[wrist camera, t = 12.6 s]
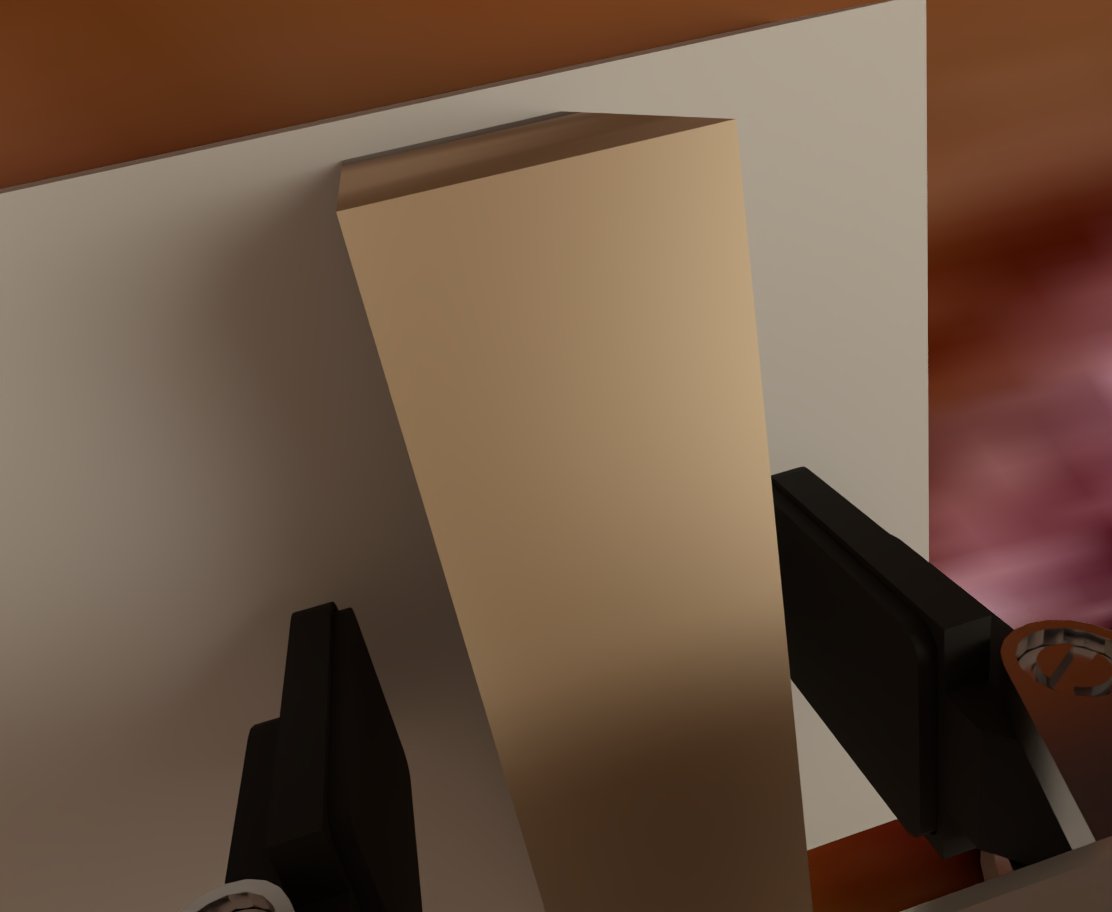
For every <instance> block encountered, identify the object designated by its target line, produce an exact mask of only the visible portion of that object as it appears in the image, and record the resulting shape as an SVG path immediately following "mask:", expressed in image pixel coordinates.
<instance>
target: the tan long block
mask: <svg viewBox="0 0 1112 912" xmlns="http://www.w3.org/2000/svg"><path fill="white" fill-rule="evenodd" d="M336 213H337V217H338V220H339V223H340V227H341V230H342V233H343V237H344V240H345V243H346V247H347V250H348V253H349V257H350V260H351V263H352V267H353V270H354V273H355V277H356V280H357V283H358V287H359V290H360V293H361V297H362V300H363V303H364V307H365V310H366V313H367V317H368V320H369V324H370V327H371V330H372V334H373V337H374V340H375V344H376V347H377V350H378V354H379V357H380V360H381V364H382V367H383V370H384V374H385V377H386V380H387V384H388V387H389V390H390V394H391V397H392V400H393V404H394V407H395V410H396V414H397V417H398V420H399V424H400V427H401V431H402V434H403V437H404V441H405V444H406V447H407V451H408V454H409V457H410V461H411V464H412V467H413V471H414V474H415V477H416V481H417V484H418V487H419V491H420V494H421V497H422V501H423V504H424V507H425V511H426V514H427V517H428V521H429V524H430V528H431V531H432V534H433V538H434V541H435V544H436V548H437V551H438V554H439V558H440V561H441V564H442V568H443V571H444V574H445V578H446V581H447V584H448V588H449V591H450V594H451V598H452V601H453V604H454V608H455V611H456V614H457V618H458V621H459V624H460V628H461V631H462V635H463V638H464V641H465V645H466V648H467V651H468V655H469V658H470V661H471V665H472V668H473V671H474V675H475V678H476V681H477V685H478V688H479V691H480V695H481V698H482V701H483V705H484V708H485V711H486V715H487V718H488V721H489V725H490V728H491V731H492V735H493V738H494V742H495V745H496V748H497V752H498V755H499V758H500V762H501V765H502V768H503V772H504V775H505V778H506V782H507V785H508V788H509V792H510V795H511V798H512V802H513V805H514V808H515V812H516V815H517V818H518V822H519V825H520V828H521V832H522V835H523V838H524V842H525V845H526V849H527V852H528V855H529V859H530V862H531V865H532V869H533V872H534V875H535V879H536V882H537V885H538V889H539V892H540V895H541V899H542V902H543V905H544V909H545V912H813V906H812V896H811V885H810V875H809V865H808V854H807V844H806V834H805V823H804V813H803V803H802V792H801V782H800V772H799V761H798V751H797V741H796V730H795V720H794V710H793V700H792V689H791V679H790V669H789V658H788V648H787V638H786V627H785V617H784V607H783V596H782V586H781V576H780V565H779V555H778V545H777V534H776V524H775V514H774V503H773V493H772V483H771V472H770V462H769V452H768V441H767V431H766V421H765V410H764V400H763V390H762V379H761V369H760V359H759V348H758V338H757V328H756V317H755V307H754V297H753V286H752V276H751V266H750V255H749V245H748V235H747V224H746V214H745V204H744V193H743V183H742V173H741V162H740V152H739V142H738V131H737V121H736V119H726V118H703V117H681V116H658V115H635V114H613V113H590V112H567V111H560V112H555V113H551V114H546V115H542V116H537V117H533V118H528V119H524V120H520V121H515V122H511V123H506V124H502V125H497V126H493V127H488V128H484V129H480V130H475V131H471V132H466V133H462V134H457V135H453V136H448V137H444V138H440V139H435V140H431V141H426V142H422V143H417V144H413V145H408V146H404V147H399V148H395V149H391V150H386V151H382V152H377V153H373V154H368V155H364V156H359V157H355V158H351V159H346V160H342V168H341V177H340V185H339V193H338V201H337V209H336Z"/></svg>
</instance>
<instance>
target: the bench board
mask: <svg viewBox="0 0 1112 912" xmlns="http://www.w3.org/2000/svg"><path fill="white" fill-rule="evenodd" d="M560 111H567V112H590V113H613V114H635V115H658V116H681V117H703V118H726V119H736V121H737V131H738V142H739V152H740V162H741V173H742V183H743V193H744V204H745V214H746V224H747V235H748V245H749V255H750V266H751V276H752V286H753V297H754V307H755V317H756V328H757V338H758V348H759V359H760V369H761V379H762V390H763V400H764V410H765V421H766V431H767V441H768V452H769V462H770V472H771V475H774V474H777V473H781V472H784V471H788V470H791V469H795V468H798V467H803V466H804V467H806V468H808V469H809V470H811V471H812V472H813V473H814V474H816V475H817V476H818V477H819V478H821V479H822V480H823V481H824V482H826V483H827V484H828V485H829V486H831V487H832V488H833V489H834V490H836V491H837V492H838V493H839V494H841V495H842V496H843V497H844V498H846V499H847V500H848V501H849V502H851V503H852V504H853V505H854V506H856V507H857V508H858V509H859V510H861V511H862V512H863V513H864V514H866V515H867V516H868V517H869V518H871V519H872V520H873V521H874V522H876V523H877V524H878V525H879V526H881V527H882V528H883V529H884V530H886V531H887V532H888V533H889V534H891V535H893V536H895V537H897V538H899V539H900V540H902V541H903V542H904V543H905V544H907V545H908V546H909V547H910V548H912V549H913V550H914V551H915V552H917V553H918V554H919V555H920V556H922V557H923V558H924V559H925V560H927V561H928V562H929V486H928V288H927V90H926V0H889V1H883V2H878V3H873V4H867V5H862V6H857V7H851V8H846V9H841V10H835V11H830V12H825V13H819V14H814V15H809V16H804V17H798V18H793V19H788V20H782V21H777V22H772V23H768V24H763V25H758V26H754V27H749V28H745V29H740V30H735V31H731V32H726V33H721V34H717V35H712V36H707V37H703V38H698V39H694V40H689V41H684V42H680V43H675V44H670V45H666V46H661V47H657V48H652V49H647V50H643V51H638V52H633V53H629V54H624V55H619V56H615V57H610V58H606V59H601V60H596V61H592V62H587V63H582V64H578V65H573V66H568V67H564V68H559V69H555V70H550V71H545V72H541V73H536V74H531V75H527V76H522V77H518V78H513V79H508V80H504V81H499V82H494V83H490V84H485V85H480V86H476V87H471V88H467V89H462V90H457V91H453V92H448V93H443V94H439V95H434V96H429V97H425V98H420V99H416V100H411V101H406V102H402V103H397V104H392V105H388V106H383V107H378V108H374V109H369V110H365V111H360V112H355V113H351V114H346V115H341V116H337V117H332V118H328V119H323V120H318V121H314V122H309V123H304V124H300V125H295V126H290V127H286V128H281V129H277V130H272V131H267V132H263V133H258V134H253V135H249V136H244V137H239V138H235V139H230V140H226V141H221V142H216V143H212V144H207V145H202V146H198V147H193V148H189V149H184V150H179V151H175V152H170V153H165V154H161V155H156V156H151V157H147V158H142V159H138V160H133V161H128V162H124V163H119V164H114V165H110V166H105V167H100V168H96V169H91V170H87V171H82V172H77V173H73V174H68V175H63V176H59V177H54V178H50V179H45V180H40V181H36V182H31V183H26V184H22V185H17V186H12V187H8V188H3V189H0V912H181V911H182V910H183V909H184V908H186V907H187V906H188V905H190V904H191V903H192V902H194V901H195V900H197V899H198V898H199V897H201V896H202V895H203V894H206V893H208V892H210V891H212V890H214V889H216V888H218V887H220V886H222V885H224V883H225V877H226V871H227V865H228V858H229V852H230V846H231V840H232V834H233V827H234V821H235V815H236V809H237V802H238V796H239V790H240V784H241V777H242V771H243V765H244V759H245V752H246V746H247V740H248V735H249V732H250V729H251V728H252V727H253V726H254V725H255V724H259V723H262V722H265V721H268V720H272V719H275V718H278V717H280V709H281V700H282V691H283V683H284V674H285V665H286V656H287V648H288V639H289V630H290V621H291V616H292V613H294V612H297V611H301V610H304V609H308V608H311V607H315V606H318V605H322V604H325V603H329V602H332V601H333V602H334V603H335V604H336V606H337V608H338V610H342V609H346V608H349V607H351V608H352V609H353V611H354V613H355V616H356V618H357V621H358V624H359V627H360V629H361V632H362V635H363V638H364V641H365V643H366V646H367V649H368V652H369V654H370V657H371V660H372V663H373V666H374V668H375V671H376V674H377V677H378V680H379V682H380V685H381V688H382V691H383V693H384V696H385V699H386V702H387V705H388V707H389V710H390V713H391V716H392V719H393V721H394V724H395V727H396V730H397V733H398V735H399V738H400V741H401V744H402V746H403V749H404V752H405V755H406V759H407V763H408V767H409V772H410V778H411V788H412V800H413V811H414V822H415V833H416V844H417V855H418V866H419V877H420V888H421V899H422V911H423V912H545V909H544V905H543V902H542V899H541V895H540V892H539V889H538V885H537V882H536V879H535V875H534V872H533V869H532V865H531V862H530V859H529V855H528V852H527V849H526V845H525V842H524V838H523V835H522V832H521V828H520V825H519V822H518V818H517V815H516V812H515V808H514V805H513V802H512V798H511V795H510V792H509V788H508V785H507V782H506V778H505V775H504V772H503V768H502V765H501V762H500V758H499V755H498V752H497V748H496V745H495V742H494V738H493V735H492V731H491V728H490V725H489V721H488V718H487V715H486V711H485V708H484V705H483V701H482V698H481V695H480V691H479V688H478V685H477V681H476V678H475V675H474V671H473V668H472V665H471V661H470V658H469V655H468V651H467V648H466V645H465V641H464V638H463V635H462V631H461V628H460V624H459V621H458V618H457V614H456V611H455V608H454V604H453V601H452V598H451V594H450V591H449V588H448V584H447V581H446V578H445V574H444V571H443V568H442V564H441V561H440V558H439V554H438V551H437V548H436V544H435V541H434V538H433V534H432V531H431V528H430V524H429V521H428V517H427V514H426V511H425V507H424V504H423V501H422V497H421V494H420V491H419V487H418V484H417V481H416V477H415V474H414V471H413V467H412V464H411V461H410V457H409V454H408V451H407V447H406V444H405V441H404V437H403V434H402V431H401V427H400V424H399V420H398V417H397V414H396V410H395V407H394V404H393V400H392V397H391V394H390V390H389V387H388V384H387V380H386V377H385V374H384V370H383V367H382V364H381V360H380V357H379V354H378V350H377V347H376V344H375V340H374V337H373V334H372V330H371V327H370V324H369V320H368V317H367V313H366V310H365V307H364V303H363V300H362V297H361V293H360V290H359V287H358V283H357V280H356V277H355V273H354V270H353V267H352V263H351V260H350V257H349V253H348V250H347V247H346V243H345V240H344V237H343V233H342V230H341V227H340V223H339V220H338V217H337V213H336V209H337V201H338V193H339V185H340V177H341V168H342V160H346V159H351V158H355V157H359V156H364V155H368V154H373V153H377V152H382V151H386V150H391V149H395V148H399V147H404V146H408V145H413V144H417V143H422V142H426V141H431V140H435V139H440V138H444V137H448V136H453V135H457V134H462V133H466V132H471V131H475V130H480V129H484V128H488V127H493V126H497V125H502V124H506V123H511V122H515V121H520V120H524V119H528V118H533V117H537V116H542V115H546V114H551V113H555V112H560ZM791 689H792V700H793V710H794V720H795V730H796V741H797V751H798V761H799V772H800V782H801V792H802V803H803V813H804V823H805V834H806V844H807V850H809V849H812V848H815V847H818V846H821V845H824V844H827V843H829V842H832V841H835V840H838V839H841V838H844V837H847V836H849V835H852V834H855V833H858V832H861V831H864V830H867V829H870V828H872V827H875V826H878V825H881V824H884V823H887V822H890V821H892V820H895V819H897V818H896V816H895V815H894V814H893V812H892V811H891V810H890V809H889V807H888V806H887V805H886V803H885V802H884V801H883V799H882V798H881V797H880V795H879V794H878V793H877V792H876V790H875V789H874V788H873V786H872V785H871V784H870V782H869V781H868V780H867V778H866V777H865V776H864V774H863V773H862V772H861V771H860V769H859V768H858V767H857V765H856V764H855V763H854V761H853V760H852V759H851V757H850V756H849V755H848V754H847V752H846V751H845V750H844V748H843V747H842V746H841V744H840V743H839V742H838V740H837V739H836V738H835V737H834V735H833V734H832V733H831V731H830V730H829V729H828V727H827V726H826V725H825V723H824V722H823V721H822V720H821V718H820V717H819V716H818V714H817V713H816V712H815V710H814V709H813V708H812V706H811V705H810V704H809V702H808V701H807V700H806V699H805V697H804V696H803V695H802V693H801V692H800V691H799V689H798V688H797V687H796V685H795V684H794V683H793V682H792V680H791Z"/></svg>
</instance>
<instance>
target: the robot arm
mask: <svg viewBox="0 0 1112 912" xmlns="http://www.w3.org/2000/svg"><path fill="white" fill-rule="evenodd" d="M771 483H772V493H773V503H774V514H775V524H776V534H777V545H778V555H779V565H780V576H781V586H782V596H783V607H784V617H785V627H786V638H787V648H788V658H789V669H790V679H791V680H792V682H793V683H794V684H795V685H796V687H797V688H798V689H799V691H800V692H801V693H802V695H803V696H804V697H805V699H806V700H807V701H808V702H809V704H810V705H811V706H812V708H813V709H814V710H815V712H816V713H817V714H818V716H819V717H820V718H821V720H822V721H823V722H824V723H825V725H826V726H827V727H828V729H829V730H830V731H831V733H832V734H833V735H834V737H835V738H836V739H837V740H838V742H839V743H840V744H841V746H842V747H843V748H844V750H845V751H846V752H847V754H848V755H849V756H850V757H851V759H852V760H853V761H854V763H855V764H856V765H857V767H858V768H859V769H860V771H861V772H862V773H863V774H864V776H865V777H866V778H867V780H868V781H869V782H870V784H871V785H872V786H873V788H874V789H875V790H876V792H877V793H878V794H879V795H880V797H881V798H882V799H883V801H884V802H885V803H886V805H887V806H888V807H889V809H890V810H891V811H892V812H893V814H894V815H895V816H896V818H897V819H898V820H899V822H900V823H901V824H902V826H903V827H904V828H905V829H906V830H907V832H908V833H909V834H911V835H912V836H913V837H919V836H922V835H924V836H925V837H926V838H927V839H928V841H929V842H930V843H931V845H932V846H933V847H934V848H935V850H936V851H937V852H938V854H939V855H940V856H941V857H942V859H943V860H944V859H947V858H950V857H953V856H956V855H958V854H961V853H964V852H967V851H970V850H972V849H975V848H977V849H978V850H981V857H980V863H981V868H982V872H983V877H984V881H985V882H982V883H979V884H976V885H973V886H971V887H968V888H965V889H962V890H959V891H957V892H954V893H951V894H948V895H945V896H943V897H940V898H937V899H934V900H931V901H929V902H926V903H923V904H920V905H917V906H915V907H912V908H909V909H906V910H904V911H901V912H1112V631H1110V630H1107V629H1104V628H1102V627H1099V626H1096V625H1093V624H1088V623H1082V622H1077V621H1071V620H1045V621H1040V622H1034V623H1029V624H1026V625H1024V626H1022V627H1020V628H1017V629H1015V630H1014V629H1012V628H1011V627H1010V626H1009V625H1007V624H1006V623H1005V622H1004V621H1002V620H1001V619H1000V618H998V617H997V616H996V615H995V614H993V613H992V612H991V611H990V610H988V609H987V608H986V607H985V606H983V605H982V604H981V603H980V602H978V601H977V600H976V599H975V598H973V597H972V596H971V595H970V594H968V593H967V592H966V591H965V590H963V589H962V588H961V587H959V586H958V585H957V584H956V583H954V582H953V581H952V580H951V579H949V578H948V577H947V576H946V575H944V574H943V573H942V572H941V571H939V570H938V569H937V568H936V567H934V566H933V565H932V564H931V563H929V562H928V561H927V560H925V559H924V558H923V557H922V556H920V555H919V554H918V553H917V552H915V551H914V550H913V549H912V548H910V547H909V546H908V545H907V544H905V543H904V542H903V541H902V540H900V539H899V538H897V537H895V536H893V535H891V534H889V533H888V532H887V531H886V530H884V529H883V528H882V527H881V526H879V525H878V524H877V523H876V522H874V521H873V520H872V519H871V518H869V517H868V516H867V515H866V514H864V513H863V512H862V511H861V510H859V509H858V508H857V507H856V506H854V505H853V504H852V503H851V502H849V501H848V500H847V499H846V498H844V497H843V496H842V495H841V494H839V493H838V492H837V491H836V490H834V489H833V488H832V487H831V486H829V485H828V484H827V483H826V482H824V481H823V480H822V479H821V478H819V477H818V476H817V475H816V474H814V473H813V472H812V471H811V470H809V469H808V468H806V467H804V466H803V467H798V468H795V469H791V470H788V471H784V472H781V473H777V474H774V475H771ZM181 912H423V911H422V899H421V888H420V877H419V866H418V855H417V844H416V833H415V822H414V811H413V800H412V788H411V778H410V772H409V767H408V763H407V759H406V755H405V752H404V749H403V746H402V744H401V741H400V738H399V735H398V733H397V730H396V727H395V724H394V721H393V719H392V716H391V713H390V710H389V707H388V705H387V702H386V699H385V696H384V693H383V691H382V688H381V685H380V682H379V680H378V677H377V674H376V671H375V668H374V666H373V663H372V660H371V657H370V654H369V652H368V649H367V646H366V643H365V641H364V638H363V635H362V632H361V629H360V627H359V624H358V621H357V618H356V616H355V613H354V611H353V609H352V608H351V607H349V608H346V609H342V610H338V608H337V606H336V604H335V603H334V602H333V601H332V602H329V603H325V604H322V605H318V606H315V607H311V608H308V609H304V610H301V611H297V612H294V613H292V616H291V621H290V630H289V639H288V648H287V656H286V665H285V674H284V683H283V691H282V700H281V709H280V717H278V718H275V719H272V720H268V721H265V722H262V723H259V724H255V725H254V726H253V727H252V728H251V729H250V732H249V735H248V740H247V746H246V752H245V759H244V765H243V771H242V777H241V784H240V790H239V796H238V802H237V809H236V815H235V821H234V827H233V834H232V840H231V846H230V852H229V858H228V865H227V871H226V877H225V883H224V885H222V886H220V887H218V888H216V889H214V890H212V891H210V892H208V893H206V894H203V895H202V896H201V897H199V898H198V899H197V900H195V901H194V902H192V903H191V904H190V905H188V906H187V907H186V908H184V909H183V910H182V911H181Z"/></svg>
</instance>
